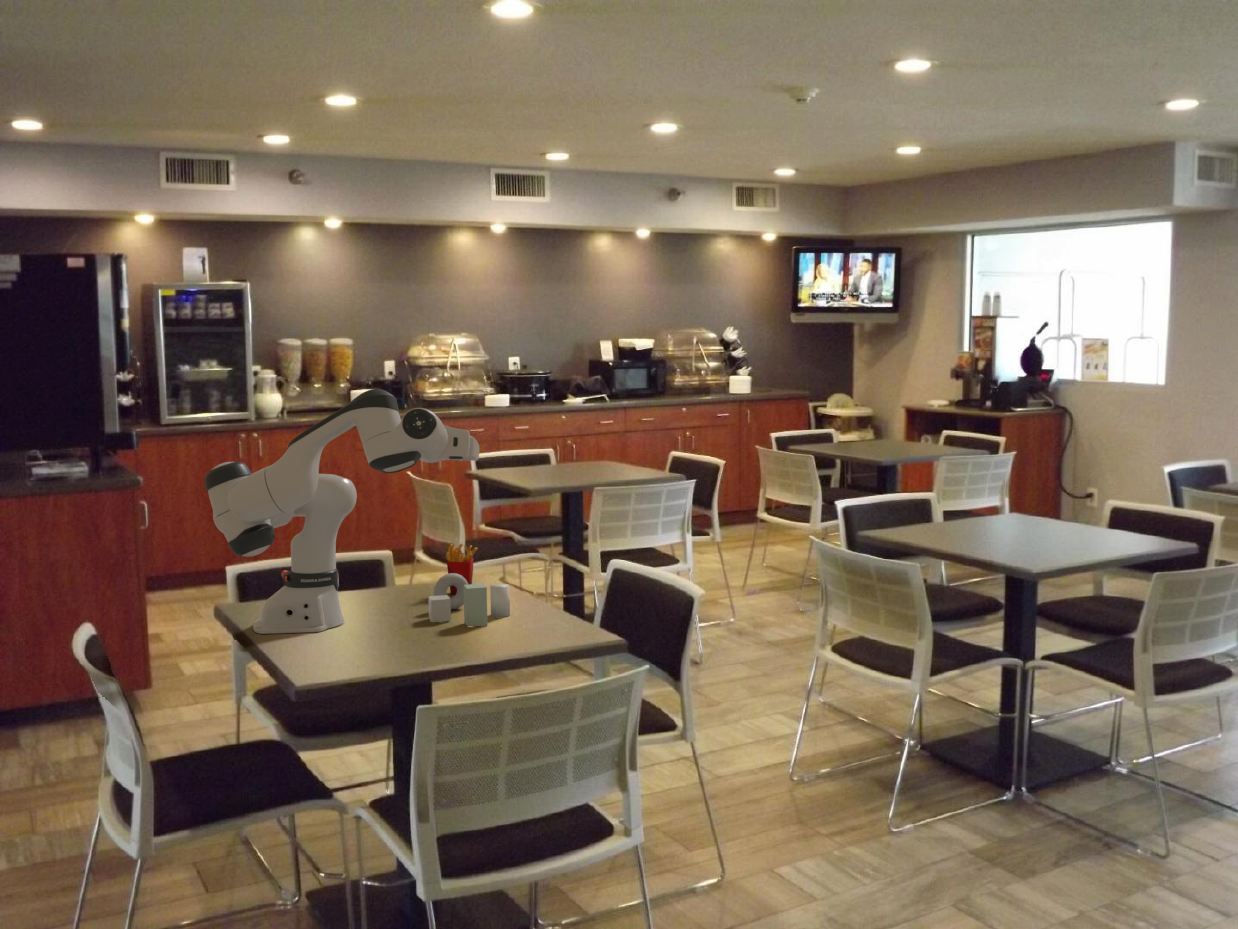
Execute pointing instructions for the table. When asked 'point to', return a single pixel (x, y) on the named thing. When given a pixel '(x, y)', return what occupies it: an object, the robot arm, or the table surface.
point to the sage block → (475, 605)
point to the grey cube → (439, 608)
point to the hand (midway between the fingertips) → (439, 457)
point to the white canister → (500, 600)
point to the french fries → (460, 563)
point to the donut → (449, 581)
